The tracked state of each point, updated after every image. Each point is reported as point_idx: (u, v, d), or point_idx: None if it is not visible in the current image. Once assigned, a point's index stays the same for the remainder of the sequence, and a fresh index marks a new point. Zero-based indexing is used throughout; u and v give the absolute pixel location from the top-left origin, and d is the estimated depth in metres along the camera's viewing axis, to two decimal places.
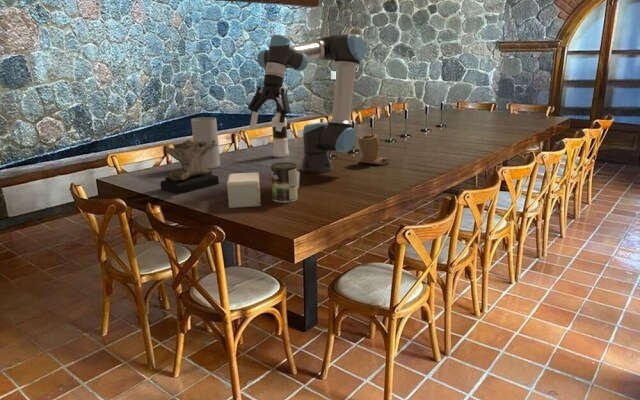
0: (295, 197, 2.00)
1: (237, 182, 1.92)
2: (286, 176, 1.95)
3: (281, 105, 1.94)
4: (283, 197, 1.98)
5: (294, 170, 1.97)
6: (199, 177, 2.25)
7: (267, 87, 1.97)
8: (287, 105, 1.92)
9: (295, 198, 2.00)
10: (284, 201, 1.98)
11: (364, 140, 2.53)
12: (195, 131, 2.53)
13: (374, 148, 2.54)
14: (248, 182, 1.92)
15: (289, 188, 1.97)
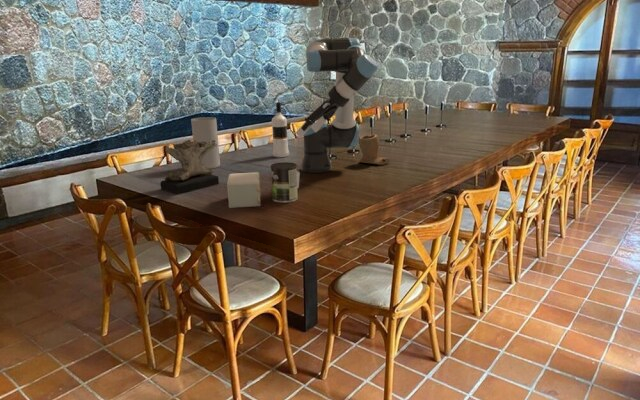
0: (295, 197, 2.00)
1: (237, 182, 1.92)
2: (286, 176, 1.95)
3: None
4: (283, 197, 1.98)
5: (294, 170, 1.97)
6: (199, 177, 2.25)
7: (334, 104, 1.82)
8: None
9: (295, 198, 2.00)
10: (284, 201, 1.98)
11: (364, 140, 2.53)
12: (195, 131, 2.53)
13: (374, 148, 2.54)
14: (248, 182, 1.92)
15: (289, 188, 1.97)
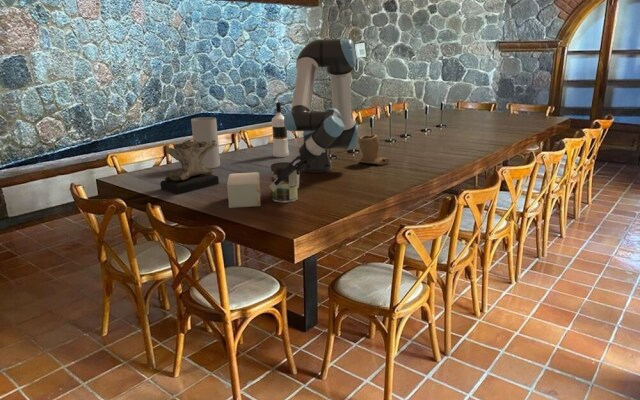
0: (295, 197, 2.00)
1: (237, 182, 1.92)
2: None
3: None
4: (283, 197, 1.98)
5: None
6: (199, 177, 2.25)
7: (304, 159, 1.93)
8: None
9: (295, 198, 2.00)
10: (284, 201, 1.98)
11: (364, 140, 2.53)
12: (195, 131, 2.53)
13: (374, 148, 2.54)
14: (248, 182, 1.92)
15: (289, 188, 1.97)
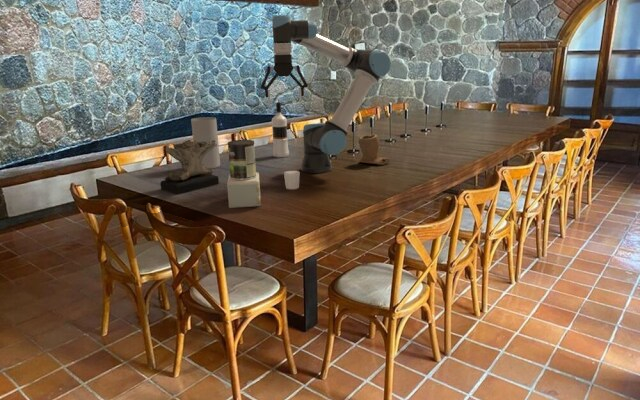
0: (253, 175, 1.95)
1: (237, 182, 1.92)
2: (243, 153, 1.90)
3: (298, 81, 2.18)
4: (240, 175, 1.93)
5: (251, 147, 1.92)
6: (199, 177, 2.25)
7: (279, 66, 2.14)
8: (304, 80, 2.18)
9: (253, 176, 1.96)
10: (241, 179, 1.93)
11: (364, 140, 2.53)
12: (195, 131, 2.53)
13: (374, 148, 2.54)
14: (248, 182, 1.92)
15: (246, 165, 1.92)
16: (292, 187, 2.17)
